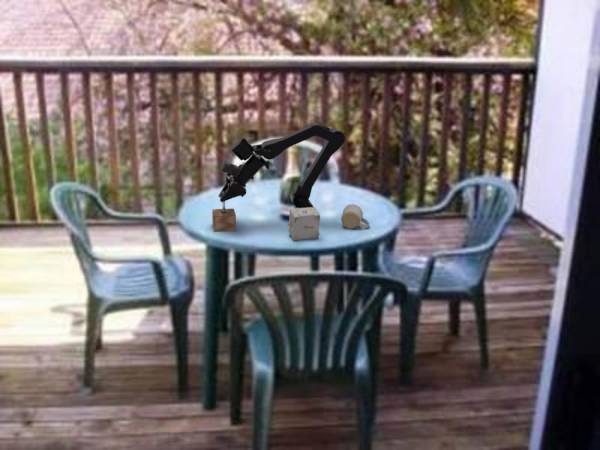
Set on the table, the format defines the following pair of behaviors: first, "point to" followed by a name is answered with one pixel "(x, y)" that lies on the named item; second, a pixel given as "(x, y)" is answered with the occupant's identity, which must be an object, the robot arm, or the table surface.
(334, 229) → the table surface
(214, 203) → the table surface
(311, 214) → the beige cardboard box
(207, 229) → the table surface
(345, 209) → the ceramic mug
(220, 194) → the black ball knob
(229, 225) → the wooden box
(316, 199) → the table surface
